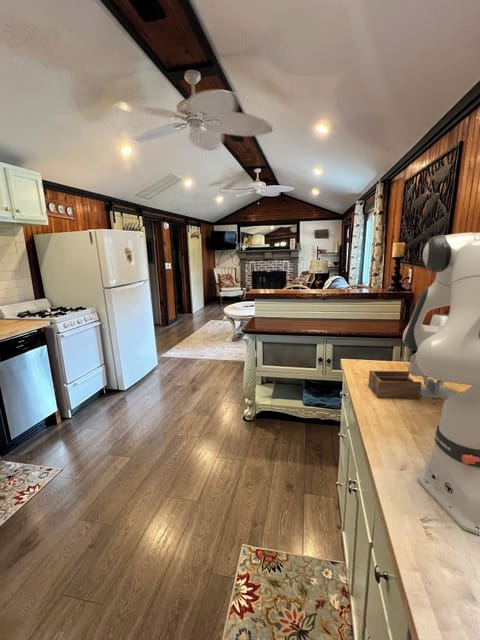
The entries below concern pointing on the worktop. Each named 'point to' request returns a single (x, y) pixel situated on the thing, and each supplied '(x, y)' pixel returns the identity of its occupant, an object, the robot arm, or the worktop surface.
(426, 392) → the lid
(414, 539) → the worktop surface
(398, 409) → the worktop surface
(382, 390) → the lid box
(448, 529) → the worktop surface
